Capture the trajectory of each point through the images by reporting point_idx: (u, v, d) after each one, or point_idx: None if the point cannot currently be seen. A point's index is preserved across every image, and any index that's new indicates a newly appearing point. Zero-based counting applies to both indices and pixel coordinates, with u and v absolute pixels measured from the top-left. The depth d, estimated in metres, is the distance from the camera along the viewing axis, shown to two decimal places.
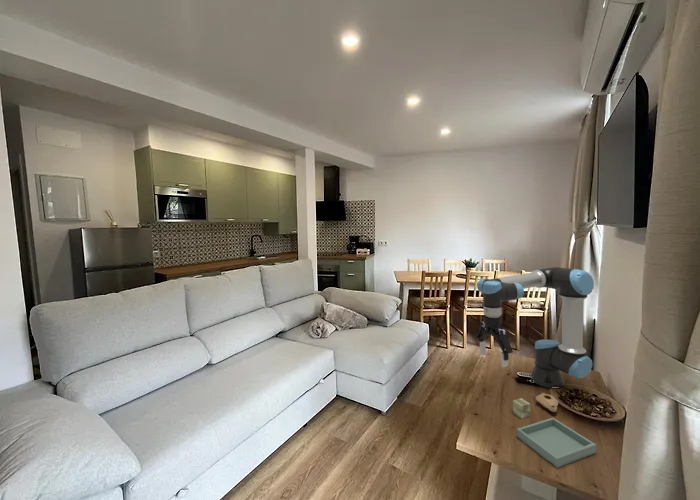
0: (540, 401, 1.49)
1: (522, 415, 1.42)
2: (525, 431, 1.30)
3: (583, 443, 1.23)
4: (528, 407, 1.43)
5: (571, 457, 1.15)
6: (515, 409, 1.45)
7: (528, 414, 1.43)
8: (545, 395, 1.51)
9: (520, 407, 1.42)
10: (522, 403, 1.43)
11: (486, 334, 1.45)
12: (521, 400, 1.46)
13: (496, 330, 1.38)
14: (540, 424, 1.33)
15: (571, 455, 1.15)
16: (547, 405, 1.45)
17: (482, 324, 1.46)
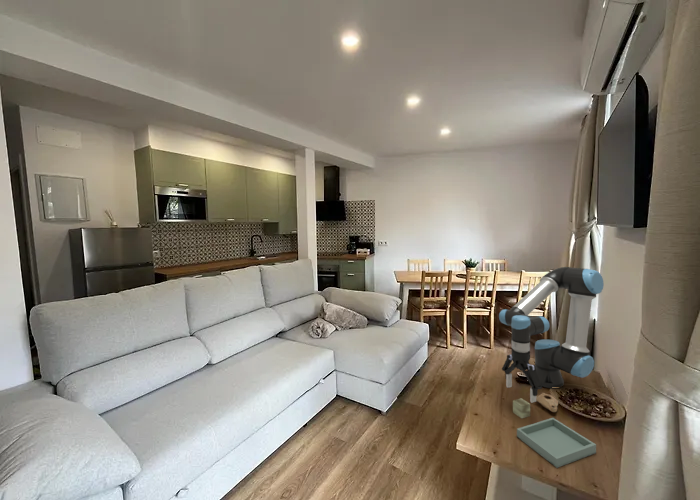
0: (540, 401, 1.49)
1: (522, 415, 1.42)
2: (525, 431, 1.30)
3: (583, 443, 1.23)
4: (528, 407, 1.43)
5: (571, 457, 1.15)
6: (515, 409, 1.45)
7: (528, 414, 1.43)
8: (545, 395, 1.51)
9: (520, 407, 1.42)
10: (522, 403, 1.43)
11: (513, 367, 1.46)
12: (521, 400, 1.46)
13: (525, 365, 1.39)
14: (540, 424, 1.33)
15: (571, 455, 1.15)
16: (547, 405, 1.45)
17: (509, 357, 1.48)
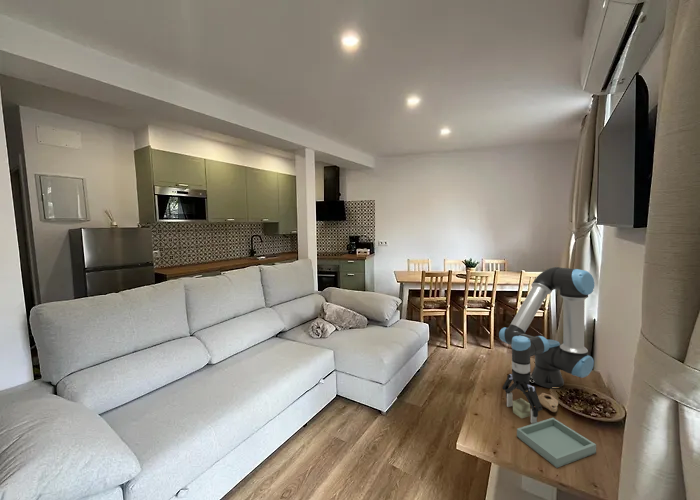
0: (540, 401, 1.49)
1: (522, 415, 1.42)
2: (525, 431, 1.30)
3: (583, 443, 1.23)
4: (528, 407, 1.43)
5: (571, 457, 1.15)
6: (515, 409, 1.45)
7: (528, 414, 1.43)
8: (545, 395, 1.51)
9: (520, 407, 1.42)
10: (522, 403, 1.43)
11: (514, 387, 1.47)
12: (521, 400, 1.46)
13: (525, 386, 1.40)
14: (540, 424, 1.33)
15: (571, 455, 1.15)
16: (547, 405, 1.45)
17: (510, 377, 1.49)
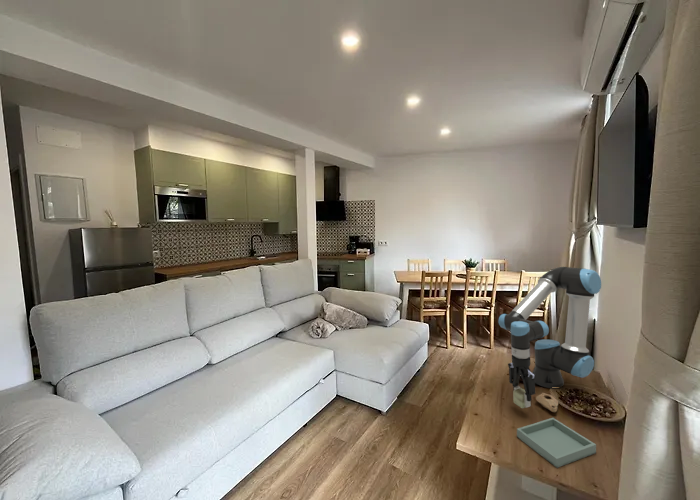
0: (540, 401, 1.49)
1: (522, 405, 1.42)
2: (525, 431, 1.30)
3: (583, 443, 1.23)
4: None
5: (571, 457, 1.15)
6: (515, 399, 1.45)
7: None
8: (545, 395, 1.51)
9: (521, 397, 1.42)
10: (523, 393, 1.43)
11: (517, 376, 1.45)
12: (521, 390, 1.46)
13: (525, 371, 1.40)
14: (540, 424, 1.33)
15: (571, 455, 1.15)
16: (547, 405, 1.45)
17: (510, 365, 1.48)
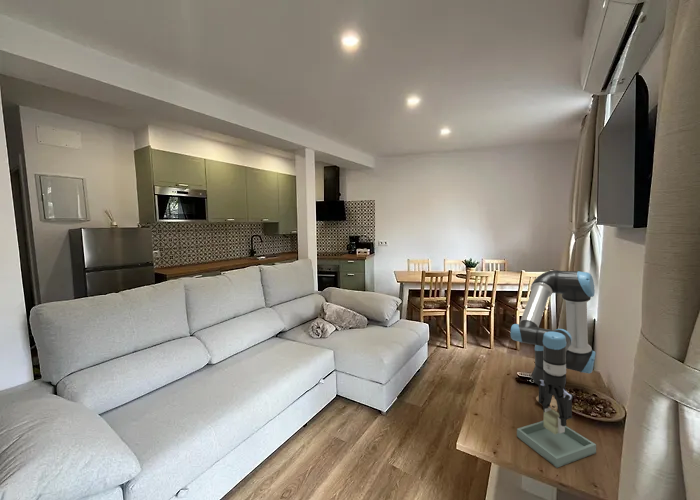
0: None
1: (555, 430, 1.21)
2: (525, 431, 1.30)
3: (583, 443, 1.23)
4: None
5: (571, 457, 1.15)
6: (546, 423, 1.24)
7: None
8: None
9: (553, 421, 1.21)
10: (556, 416, 1.22)
11: (549, 395, 1.25)
12: (553, 412, 1.25)
13: (560, 391, 1.19)
14: (540, 424, 1.33)
15: (571, 455, 1.15)
16: None
17: (540, 382, 1.28)
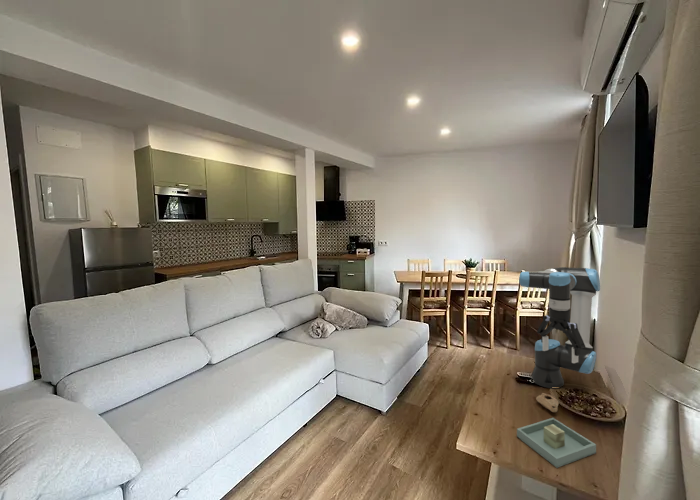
0: (540, 401, 1.49)
1: (555, 445, 1.22)
2: (525, 431, 1.30)
3: (583, 443, 1.23)
4: (562, 435, 1.22)
5: (571, 457, 1.15)
6: (546, 438, 1.25)
7: (562, 444, 1.23)
8: (545, 395, 1.51)
9: (553, 436, 1.22)
10: (556, 431, 1.23)
11: (551, 328, 1.37)
12: (553, 427, 1.25)
13: (565, 324, 1.30)
14: (540, 424, 1.33)
15: (571, 455, 1.15)
16: (547, 405, 1.45)
17: (546, 318, 1.39)
